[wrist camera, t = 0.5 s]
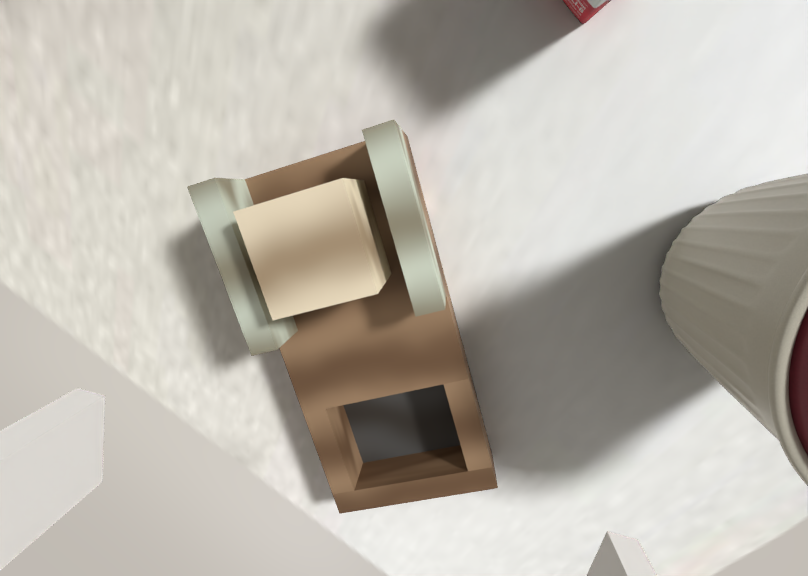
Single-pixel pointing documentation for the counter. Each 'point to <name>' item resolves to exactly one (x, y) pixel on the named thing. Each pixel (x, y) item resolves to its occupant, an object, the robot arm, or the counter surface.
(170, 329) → the counter surface
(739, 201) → the canister
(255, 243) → the birch block
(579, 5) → the ink box
